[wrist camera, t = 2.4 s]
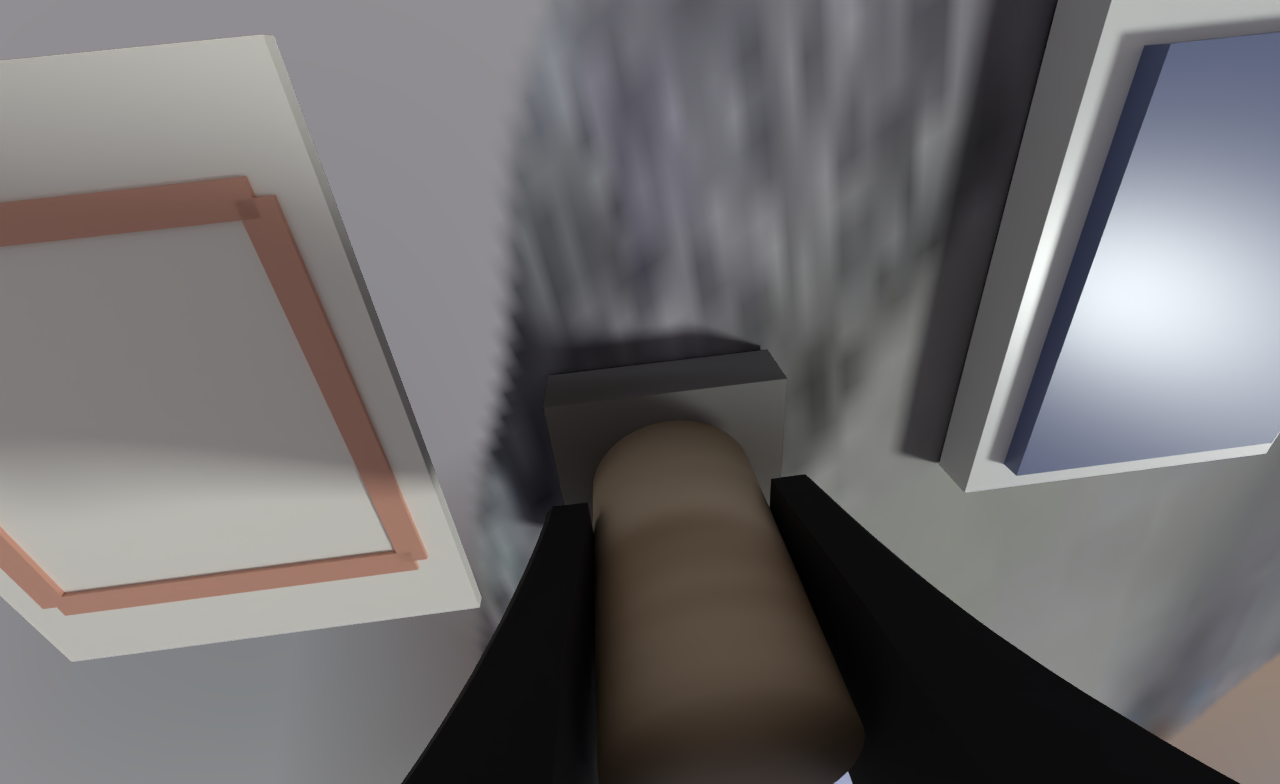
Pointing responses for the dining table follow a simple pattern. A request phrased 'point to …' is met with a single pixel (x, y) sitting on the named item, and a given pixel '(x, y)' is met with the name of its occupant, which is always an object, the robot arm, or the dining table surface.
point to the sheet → (195, 367)
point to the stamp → (697, 578)
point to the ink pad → (1133, 253)
